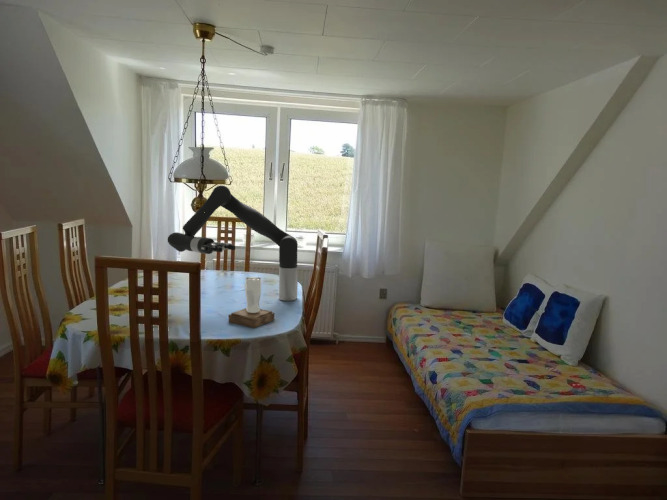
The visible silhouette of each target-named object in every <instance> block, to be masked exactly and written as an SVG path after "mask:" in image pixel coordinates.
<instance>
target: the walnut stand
mask: <svg viewBox="0 0 667 500" xmlns="http://www.w3.org/2000/svg"><path fill="white" fill-rule="evenodd" d="M246 308H247V307H245V308H243V309H239V310H237V311H233V312H231V313H230V314H228V323H231V324H235V325H240V326H243V327H246V328H247V327H248V328H252V329H255V328H258V327H261V326H262V325H266V324H268V323H270V322H273V321H275V312H272V310H268V309H263V308H260V312H259V313H254V314H251V313H247V312H246Z"/></svg>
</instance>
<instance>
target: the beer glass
mask: <svg viewBox="0 0 667 500" xmlns="http://www.w3.org/2000/svg"><path fill="white" fill-rule="evenodd" d="M244 286H245V287H244V289H245V290H244V291H245V298H246V307H245V308H246V312H247V313H251V314H254V313H259V312H260V309H261V308H260V300H261V294H262V278H261V277H258V276H249V277H245V284H244Z"/></svg>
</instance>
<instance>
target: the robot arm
mask: <svg viewBox="0 0 667 500" xmlns="http://www.w3.org/2000/svg"><path fill="white" fill-rule="evenodd" d="M219 207H222V208H223V209H225V210H227V211H229V212H230V213H232V215H234V216H235V217H236V218H237V219H238V220H240V221H241V222H242V223H243V224H245V225H246V227H248V228H250V229H251V230H253V231H254V232H256V233H258V234H260V235H262V236H264V237H266V238H268V239H269V240H271V241H272V242H273V243H275V244H276V245H277V246H278V247H279V248H278V249H279V250H278V252H279V253H278V255H279V256H278V260H279V261H278V262H279V263H278V265H279V268H278V270H279V271H278V272H279V273H278V274H279V275H278V277H279V278H278V279H279V280H278V300H279V301H284V302H293V301H296V300H297V298H298V243H299V242H298V241H297V239H296V238H295V237H294V236H293V235H291V234H289V233H287V232H286V231H284V230H283V229H280V228H279V227H278V226H277V225H276V224H274V222H272V221H271V220H270V219H269V218H267V217H266V215H264V214H262V213H261V212H259V210H257V209H255V208H253V207H252V206H249V205H248V204H245V203H243V202H242V201H241V200H239V199H238V198H237V197H235V196H234V195H233V194H232V193H231V191H230V189H229V187H227V186H226V185H222V184H221V185H217V186H215V187H214V188H213V190H212V192H211V193H210V194H209V196H208V198H207V200H205V202H204V203H203V205H201V207H199V209H198V210H197V211H196V212H195V213H194V214H193V215H192V216H191V217H190V218H189V219H188V220H187V221H186V222H185V224H183V226H182V230H183V231H184V233H182V232H173V233H169V235H168V236H167V243H168V244H169V245H170V247H172V248H173V249H175V251H178V252H180V253H182V252H185V251H189V252H195V253H198V254H205V255H211V254H212V253H215V252H216V253H223V251H225V250H231V251H235V250H236V245H235V244H232V242H231V243H229V242H227V243H226V242H224V241H223V242H218V241H215V240H214V239H212V238H210V237H202V236H196V234H197V233H199V231H200V230H201V229H202V228H203V227H204V226H205V224H206V223H207V222H208V220H209V219H210V217H212V215H213V214H214V213H215V212H216V210H218V208H219ZM204 212H205V213H204Z"/></svg>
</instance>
